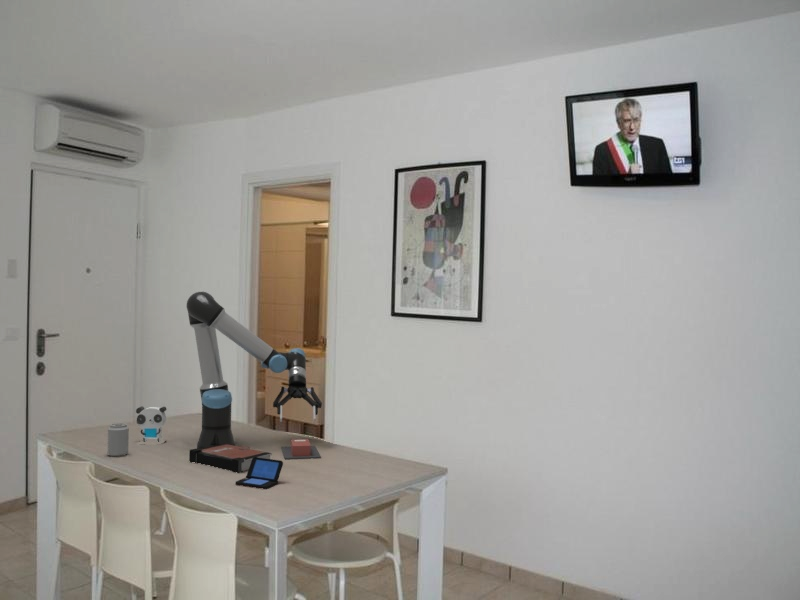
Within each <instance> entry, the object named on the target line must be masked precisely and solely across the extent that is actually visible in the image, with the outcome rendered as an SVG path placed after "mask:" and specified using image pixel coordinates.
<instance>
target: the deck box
mask: <svg viewBox="0 0 800 600" xmlns="http://www.w3.org/2000/svg"><path fill="white" fill-rule="evenodd" d="M290 446H291V452H292V456H311V446H312V444H311V443H310V440H309V439H308V438H303V439H302V438H298V439H294V438H293V439H291V440H290Z"/></svg>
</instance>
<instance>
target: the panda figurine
mask: <svg viewBox="0 0 800 600" xmlns="http://www.w3.org/2000/svg"><path fill="white" fill-rule="evenodd" d="M166 411H167V407H166V406H161V407H158V406H150V407H147V408H145V407H144V406H139V407H137V408H136V409H135V413H136V414H138V415H137V417H136V423H137V426H138V427H139V428H140V429H141V430H140V433H141V435H142V440H143V442H146V441H147V440H148V439H157V441H158V442H160V441H161V440H162V439H163V438H162V437H163V436H162V433H163V432H162V429H163V428H162V427H163V426H164V425H165V424H166V421H167V415H166Z"/></svg>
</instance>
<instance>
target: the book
mask: <svg viewBox="0 0 800 600" xmlns="http://www.w3.org/2000/svg"><path fill="white" fill-rule="evenodd" d="M271 456H273V453H271V452H268V451H262V450H257V449H252V448H251V447H249V446H237V445H235V446H233V445H227V444H220V445H215V446H211V447H206V448H202V449H197V448H191V449H189V457H188V458H189V460H188V462H189V461H190V462H189V463H192V462H195V463H194V464H198V463H201V464H200V465H203V464H205V465H204V466H207V465H210V466H209V467H212V466H214V467H213V468H216V467H218V469H220V468H222V469H221V470H225V469H226V471H229V470H230V472H231V473H236V472H237V474H240V473H239V472H241V473H243V471H244V472H248V471H247V470H249V467H250V464H251V461H252V459H253V458H254V457H258V458H265V459H271ZM196 462H197V463H196Z"/></svg>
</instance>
